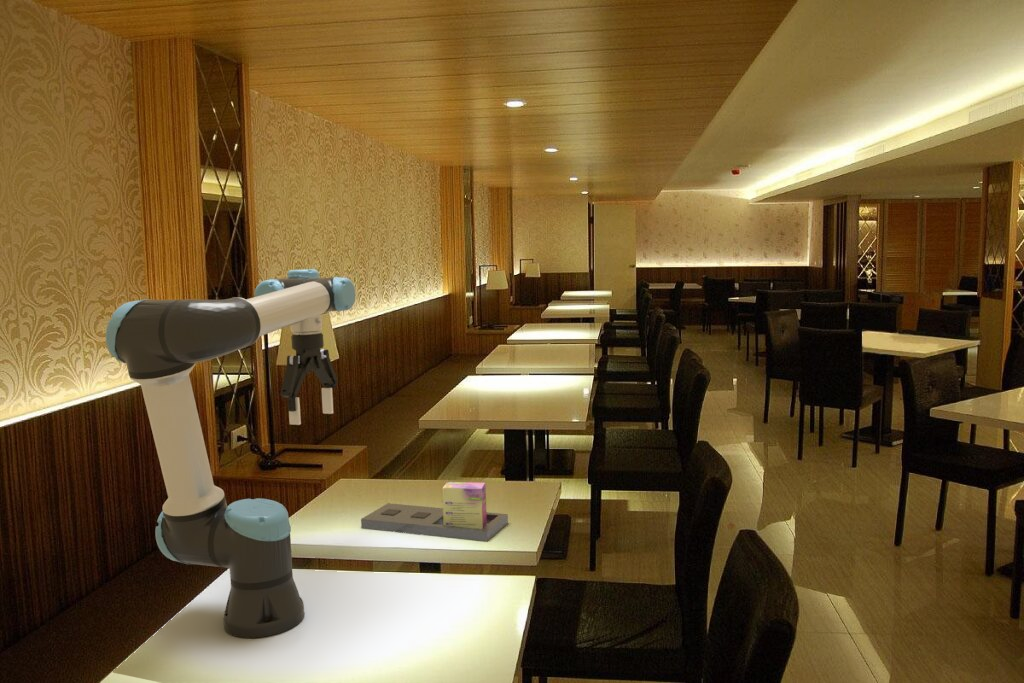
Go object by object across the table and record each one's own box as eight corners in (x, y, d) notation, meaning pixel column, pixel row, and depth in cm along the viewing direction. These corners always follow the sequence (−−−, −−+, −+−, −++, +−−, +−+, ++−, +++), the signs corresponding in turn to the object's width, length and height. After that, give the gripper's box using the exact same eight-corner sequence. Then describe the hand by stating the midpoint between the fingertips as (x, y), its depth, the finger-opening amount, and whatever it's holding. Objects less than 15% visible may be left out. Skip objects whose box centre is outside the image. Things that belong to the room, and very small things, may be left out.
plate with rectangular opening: (487, 541, 197) (486, 531, 197) (361, 528, 210) (361, 518, 210) (508, 523, 210) (507, 513, 210) (388, 511, 223) (388, 502, 223)
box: (487, 525, 209) (485, 481, 208) (483, 533, 203) (481, 488, 202) (448, 525, 210) (446, 481, 209) (443, 532, 205) (441, 487, 204)
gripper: (287, 338, 181) (293, 430, 183) (348, 328, 204) (353, 409, 207) (260, 338, 184) (266, 428, 186) (323, 328, 207) (328, 408, 209)
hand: (312, 418), depth 196 cm, fingers open, 13 cm apart
